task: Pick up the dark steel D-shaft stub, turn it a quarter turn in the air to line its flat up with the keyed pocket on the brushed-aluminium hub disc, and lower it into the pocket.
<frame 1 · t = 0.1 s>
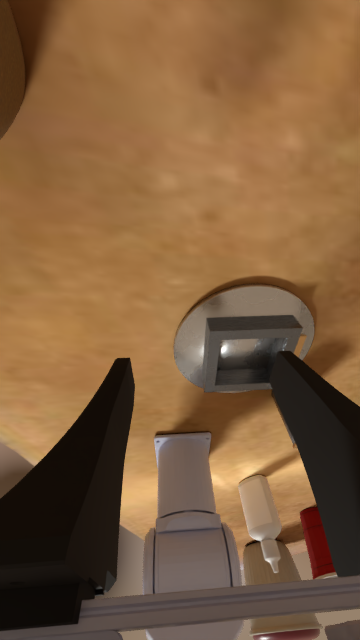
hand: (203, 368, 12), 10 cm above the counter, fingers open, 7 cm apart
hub: (241, 344, 25), on the counter
eye dropper bottle: (251, 479, 45), on the counter
plastic cup: (311, 509, 58), on the counter
canister: (263, 543, 74), on the counter
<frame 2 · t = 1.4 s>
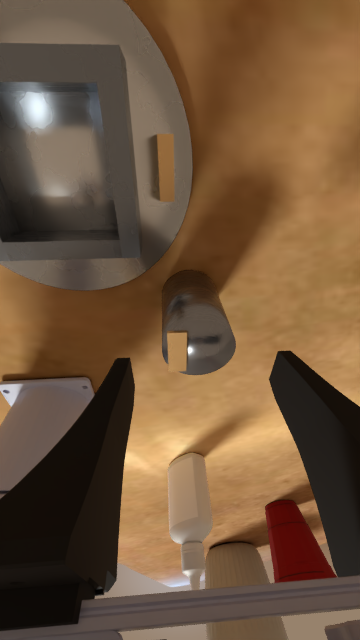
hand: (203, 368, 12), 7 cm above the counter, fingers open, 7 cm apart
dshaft: (188, 295, 18), on the counter
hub: (61, 169, 13), on the counter
eye dropper bottle: (185, 459, 33), on the counter
plastic cup: (279, 503, 46), on the counter
canister: (230, 546, 62), on the counter
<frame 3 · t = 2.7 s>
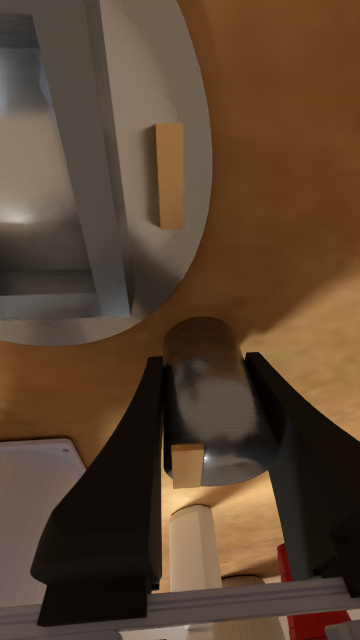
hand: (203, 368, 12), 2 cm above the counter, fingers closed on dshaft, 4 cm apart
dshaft: (199, 346, 13), on the counter, touching gripper
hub: (6, 181, 8), on the counter
eye dropper bottle: (189, 510, 29), on the counter
plastic cup: (292, 543, 41), on the counter
canister: (236, 578, 57), on the counter
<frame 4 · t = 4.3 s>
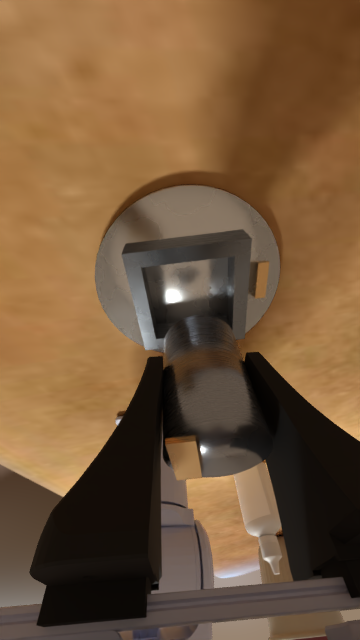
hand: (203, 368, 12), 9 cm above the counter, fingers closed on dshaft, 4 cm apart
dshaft: (199, 344, 14), point 7 cm above the counter, touching gripper
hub: (188, 284, 19), on the counter
eye dropper bottle: (248, 465, 39), on the counter
canister: (280, 539, 67), on the counter
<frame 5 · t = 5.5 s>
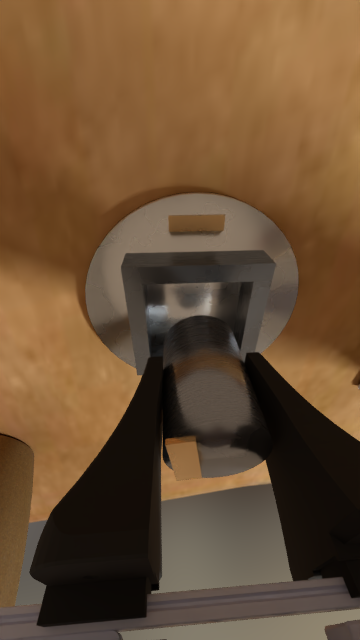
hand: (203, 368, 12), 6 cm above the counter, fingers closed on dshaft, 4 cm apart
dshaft: (199, 344, 14), point 4 cm above the counter, touching gripper
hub: (192, 304, 17), on the counter
when the fingers open (4 cm above the counter, at t = 6.3 s): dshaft stays where it is, resting on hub.
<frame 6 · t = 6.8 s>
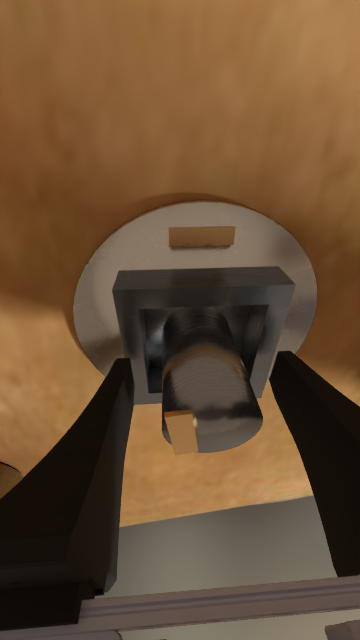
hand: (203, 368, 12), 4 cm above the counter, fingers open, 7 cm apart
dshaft: (195, 333, 14), point 1 cm above the counter, touching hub
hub: (195, 325, 15), on the counter
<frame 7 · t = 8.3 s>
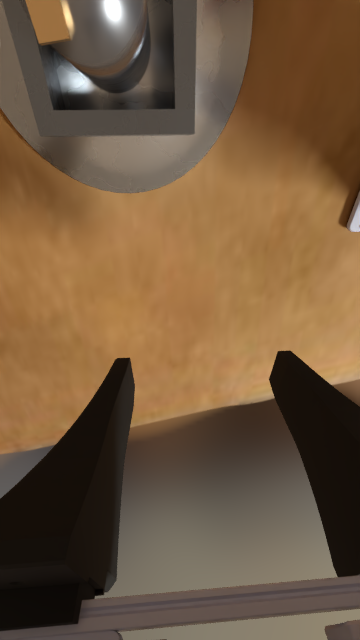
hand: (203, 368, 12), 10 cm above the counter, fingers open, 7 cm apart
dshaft: (110, 38, 12), point 1 cm above the counter, touching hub
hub: (113, 38, 12), on the counter
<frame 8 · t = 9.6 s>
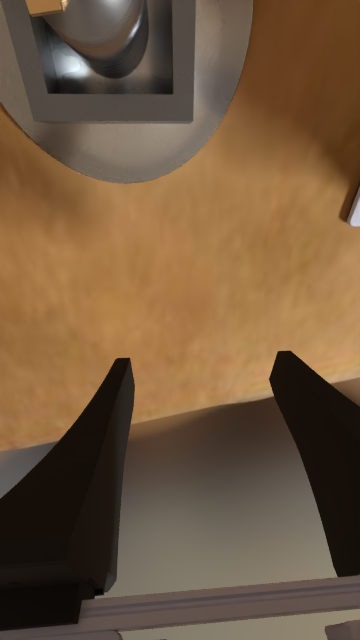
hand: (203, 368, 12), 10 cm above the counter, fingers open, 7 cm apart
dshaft: (107, 21, 12), point 1 cm above the counter, touching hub
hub: (110, 21, 12), on the counter
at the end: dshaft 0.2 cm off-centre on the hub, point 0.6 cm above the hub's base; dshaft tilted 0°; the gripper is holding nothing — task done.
